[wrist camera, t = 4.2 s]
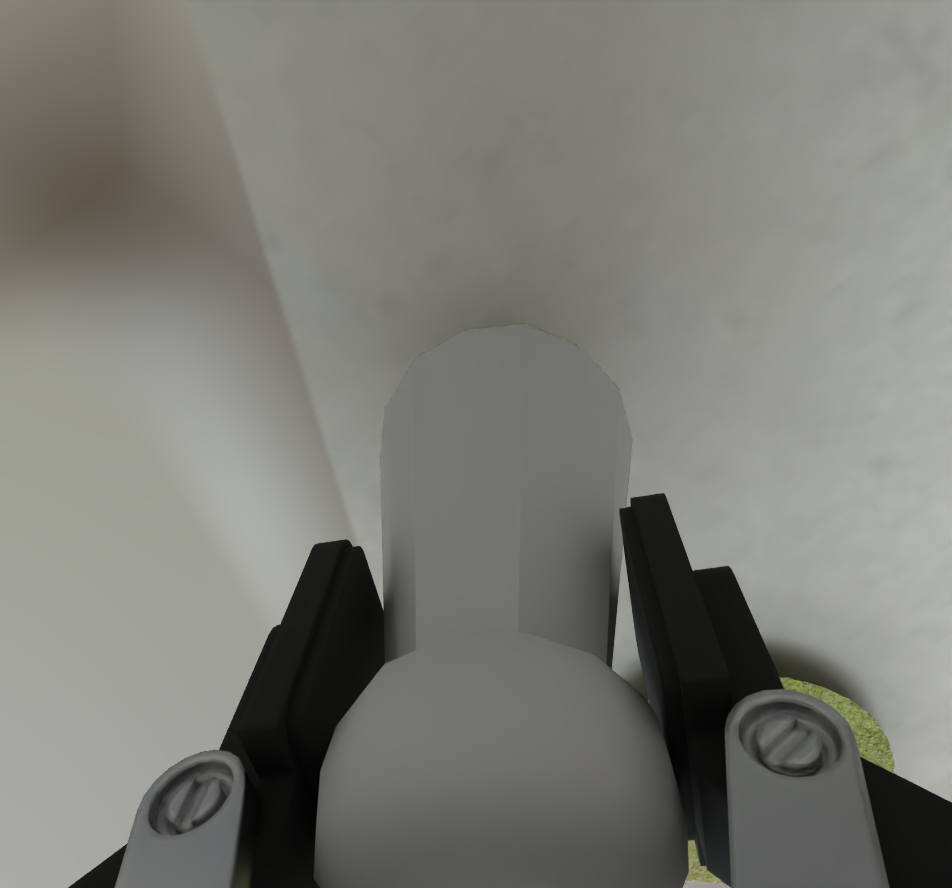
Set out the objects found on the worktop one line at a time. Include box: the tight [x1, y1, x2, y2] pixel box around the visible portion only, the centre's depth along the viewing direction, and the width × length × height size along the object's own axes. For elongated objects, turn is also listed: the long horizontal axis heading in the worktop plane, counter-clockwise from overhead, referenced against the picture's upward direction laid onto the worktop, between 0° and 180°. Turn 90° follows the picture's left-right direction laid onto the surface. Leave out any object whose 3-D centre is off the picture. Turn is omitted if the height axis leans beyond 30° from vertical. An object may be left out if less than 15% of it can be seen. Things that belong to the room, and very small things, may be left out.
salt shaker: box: [314, 324, 689, 888], centre depth 13 cm, size 6×6×13 cm
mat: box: [648, 677, 895, 883], centre depth 28 cm, size 11×11×2 cm
